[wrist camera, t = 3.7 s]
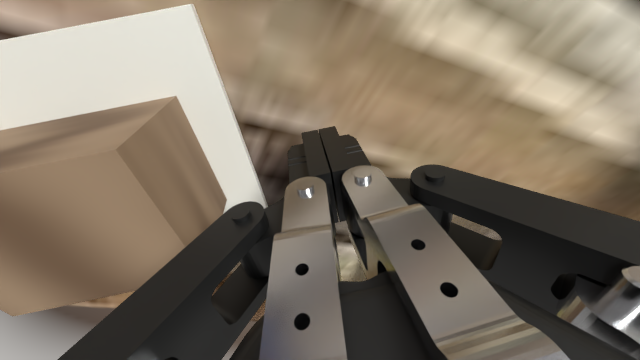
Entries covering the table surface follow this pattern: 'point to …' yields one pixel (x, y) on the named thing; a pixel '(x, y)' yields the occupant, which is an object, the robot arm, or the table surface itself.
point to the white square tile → (129, 83)
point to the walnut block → (99, 203)
